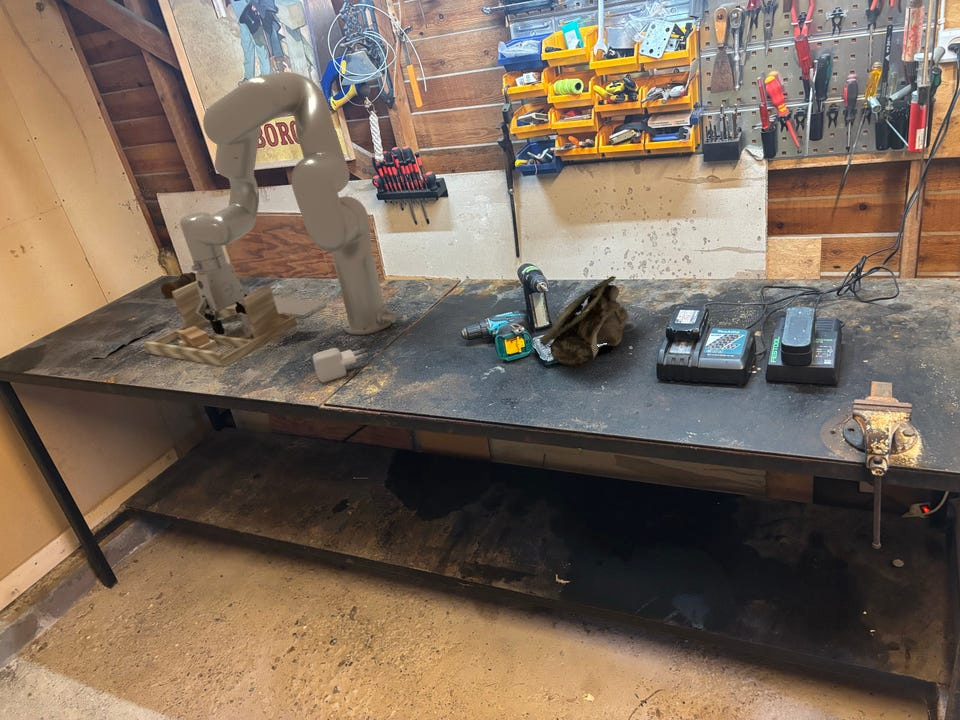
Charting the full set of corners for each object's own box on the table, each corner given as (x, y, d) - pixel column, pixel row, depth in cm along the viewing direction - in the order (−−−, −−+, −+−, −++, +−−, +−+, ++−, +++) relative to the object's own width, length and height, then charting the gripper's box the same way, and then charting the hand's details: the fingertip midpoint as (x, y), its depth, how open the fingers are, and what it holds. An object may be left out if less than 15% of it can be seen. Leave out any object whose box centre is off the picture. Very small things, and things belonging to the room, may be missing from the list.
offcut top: (210, 341, 157) (207, 332, 156) (194, 348, 154) (191, 338, 153) (197, 334, 162) (194, 325, 161) (182, 340, 160) (178, 331, 159)
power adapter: (366, 361, 141) (360, 337, 138) (372, 369, 137) (366, 345, 134) (317, 376, 137) (310, 352, 135) (321, 385, 133) (314, 361, 131)
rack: (296, 324, 167) (284, 280, 161) (225, 366, 149) (208, 319, 143) (219, 315, 181) (205, 275, 176) (146, 352, 163) (128, 309, 158)
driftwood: (103, 362, 163) (99, 355, 162) (85, 360, 166) (82, 353, 165) (166, 328, 180) (163, 322, 179) (149, 327, 182) (146, 321, 181)
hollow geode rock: (567, 401, 123) (615, 360, 113) (519, 356, 124) (563, 310, 114) (617, 336, 144) (662, 295, 133) (576, 297, 144) (617, 253, 134)
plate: (326, 305, 176) (325, 301, 176) (304, 318, 169) (303, 315, 169) (253, 298, 190) (252, 295, 190) (230, 310, 183) (229, 307, 183)
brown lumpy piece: (200, 286, 215) (174, 302, 202) (186, 280, 215) (159, 295, 202) (203, 271, 213) (177, 286, 199) (188, 265, 212) (162, 279, 199)
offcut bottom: (219, 351, 158) (215, 340, 157) (205, 358, 155) (201, 347, 154) (196, 345, 164) (192, 335, 162) (182, 352, 161) (178, 341, 160)
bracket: (251, 334, 159) (230, 299, 158) (222, 355, 174) (202, 322, 173) (262, 329, 161) (241, 294, 160) (232, 350, 177) (212, 318, 175)
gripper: (192, 276, 151) (216, 343, 159) (247, 252, 164) (266, 315, 172) (171, 274, 155) (196, 340, 162) (227, 251, 168) (247, 312, 176)
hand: (232, 326), depth 167 cm, fingers open, 7 cm apart
